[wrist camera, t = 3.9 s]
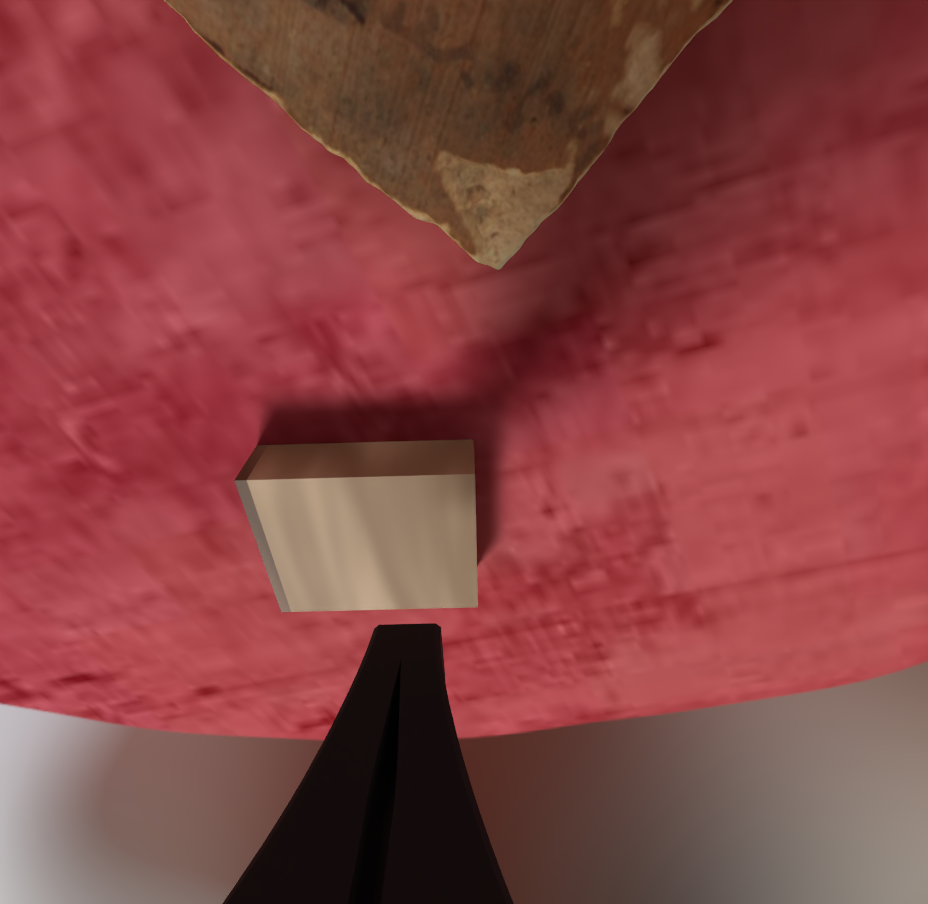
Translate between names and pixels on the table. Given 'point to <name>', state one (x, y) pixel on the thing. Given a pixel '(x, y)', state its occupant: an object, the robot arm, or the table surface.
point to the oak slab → (365, 523)
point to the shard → (458, 93)
